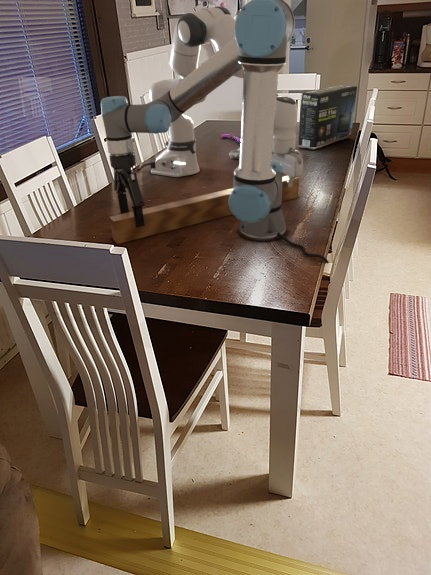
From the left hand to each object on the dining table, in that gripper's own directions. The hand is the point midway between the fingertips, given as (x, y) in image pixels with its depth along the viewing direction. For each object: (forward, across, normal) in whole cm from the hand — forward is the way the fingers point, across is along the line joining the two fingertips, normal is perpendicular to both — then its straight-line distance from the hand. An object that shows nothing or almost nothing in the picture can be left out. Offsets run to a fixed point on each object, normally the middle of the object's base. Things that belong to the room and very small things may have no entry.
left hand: (281, 182), depth 172 cm
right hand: (0, -1, +60) cm, 60 cm away
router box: (+7, +54, -70) cm, 89 cm away
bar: (+6, 0, +30) cm, 31 cm away
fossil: (+7, +55, -21) cm, 59 cm away
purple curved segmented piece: (+8, +90, -34) cm, 97 cm away
